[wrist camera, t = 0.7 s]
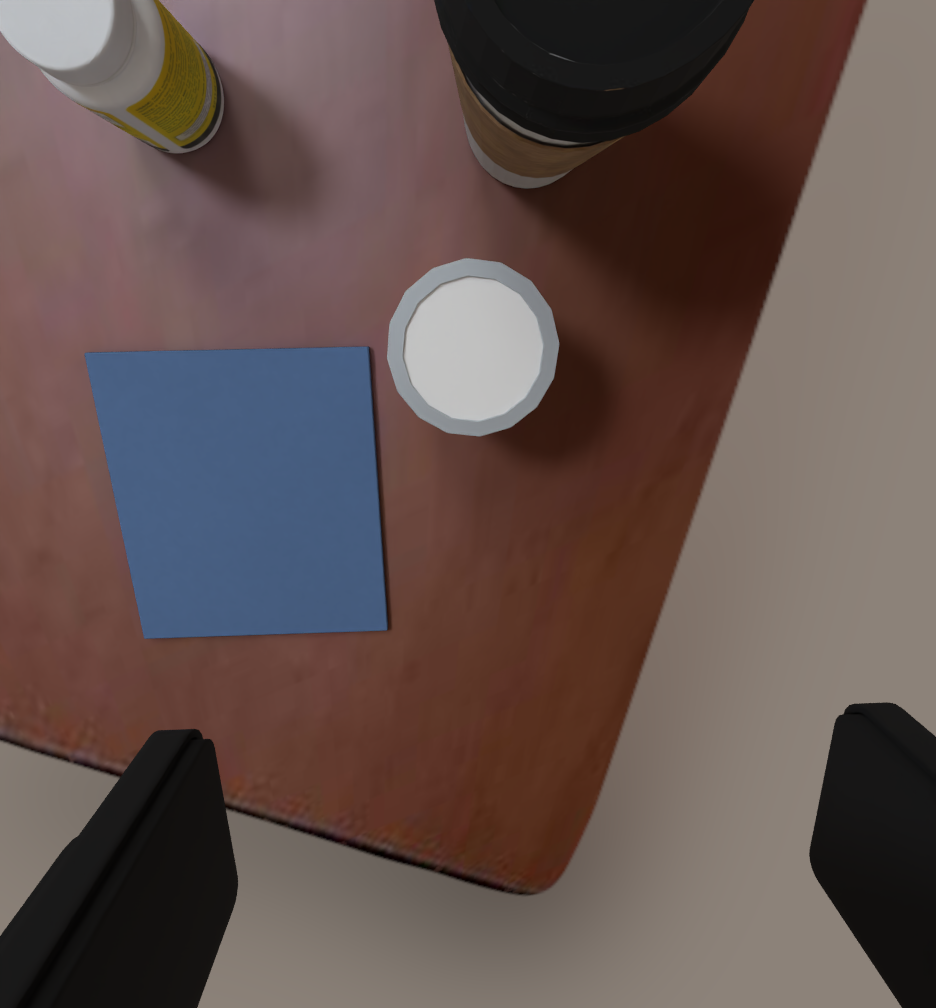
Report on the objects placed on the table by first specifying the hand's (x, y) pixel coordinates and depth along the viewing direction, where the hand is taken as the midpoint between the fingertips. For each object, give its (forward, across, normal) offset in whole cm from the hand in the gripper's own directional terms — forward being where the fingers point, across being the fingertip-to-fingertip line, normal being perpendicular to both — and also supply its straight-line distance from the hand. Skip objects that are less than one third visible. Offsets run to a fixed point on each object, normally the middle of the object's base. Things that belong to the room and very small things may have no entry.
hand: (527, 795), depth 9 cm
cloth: (+24, +12, +2) cm, 27 cm away
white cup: (+24, 0, -6) cm, 25 cm away
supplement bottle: (+24, +13, -17) cm, 32 cm away
